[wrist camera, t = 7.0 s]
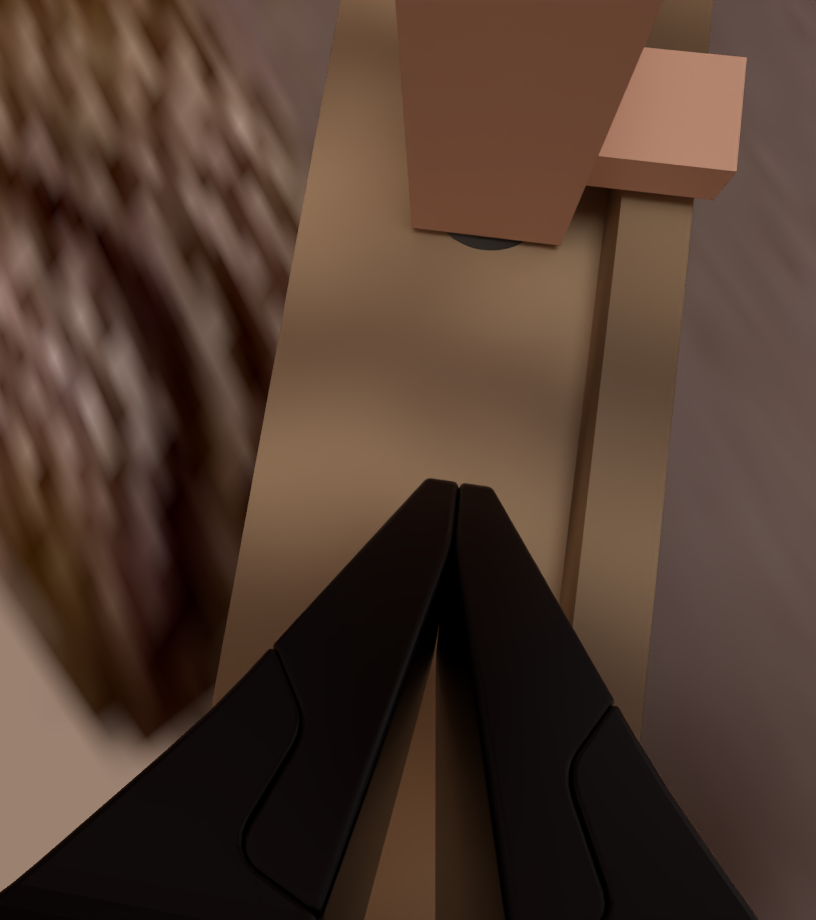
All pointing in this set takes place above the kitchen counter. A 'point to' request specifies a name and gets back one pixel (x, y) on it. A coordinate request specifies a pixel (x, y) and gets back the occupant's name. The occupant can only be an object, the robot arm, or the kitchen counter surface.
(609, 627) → the trammel board
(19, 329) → the kitchen counter surface
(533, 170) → the block
